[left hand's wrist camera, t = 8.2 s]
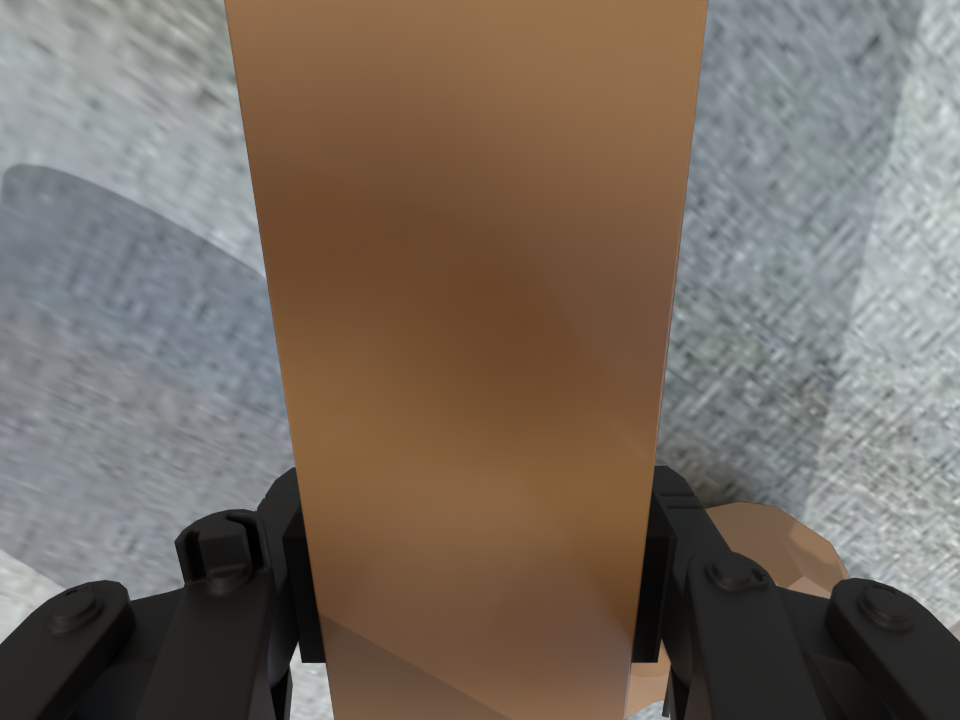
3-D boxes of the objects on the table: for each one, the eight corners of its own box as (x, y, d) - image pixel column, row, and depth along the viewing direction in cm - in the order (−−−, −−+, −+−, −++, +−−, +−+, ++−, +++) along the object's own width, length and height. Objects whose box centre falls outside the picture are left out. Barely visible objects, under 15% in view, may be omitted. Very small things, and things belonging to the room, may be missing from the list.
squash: (840, 524, 33) (959, 673, 25) (610, 668, 41) (649, 815, 33) (738, 449, 29) (844, 600, 21) (504, 624, 36) (521, 781, 29)
